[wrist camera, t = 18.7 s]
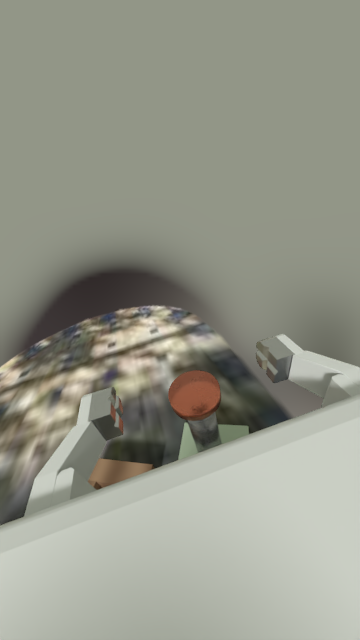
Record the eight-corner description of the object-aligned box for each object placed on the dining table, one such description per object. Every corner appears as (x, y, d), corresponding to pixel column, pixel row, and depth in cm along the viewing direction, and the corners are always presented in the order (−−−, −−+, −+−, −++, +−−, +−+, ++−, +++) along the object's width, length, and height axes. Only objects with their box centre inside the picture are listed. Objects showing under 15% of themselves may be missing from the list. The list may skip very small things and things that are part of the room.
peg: (237, 448, 35) (227, 377, 26) (224, 490, 31) (207, 421, 22) (203, 433, 38) (183, 366, 30) (187, 469, 34) (158, 403, 25)
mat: (248, 428, 38) (248, 425, 38) (255, 514, 28) (255, 512, 28) (185, 425, 42) (184, 422, 41) (172, 500, 32) (171, 498, 31)
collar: (159, 475, 35) (152, 464, 33) (133, 589, 25) (121, 584, 23) (100, 467, 39) (90, 457, 36) (56, 565, 29) (40, 559, 27)
